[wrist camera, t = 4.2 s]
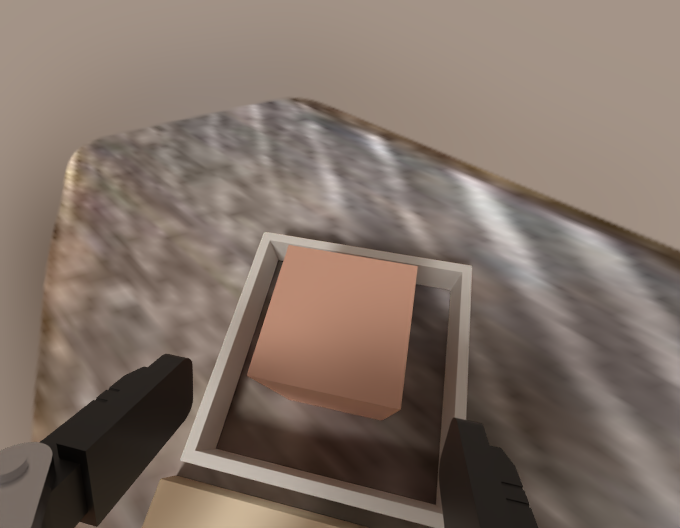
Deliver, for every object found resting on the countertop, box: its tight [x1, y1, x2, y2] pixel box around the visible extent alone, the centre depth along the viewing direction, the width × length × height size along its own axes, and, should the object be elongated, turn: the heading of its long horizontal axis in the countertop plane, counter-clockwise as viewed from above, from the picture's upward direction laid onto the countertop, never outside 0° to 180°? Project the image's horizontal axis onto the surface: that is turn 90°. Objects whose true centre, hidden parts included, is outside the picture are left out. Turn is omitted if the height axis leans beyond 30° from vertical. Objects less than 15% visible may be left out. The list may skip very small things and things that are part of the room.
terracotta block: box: [247, 245, 418, 421], centre depth 15 cm, size 5×5×8 cm
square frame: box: [180, 232, 472, 528], centre depth 18 cm, size 12×12×2 cm
